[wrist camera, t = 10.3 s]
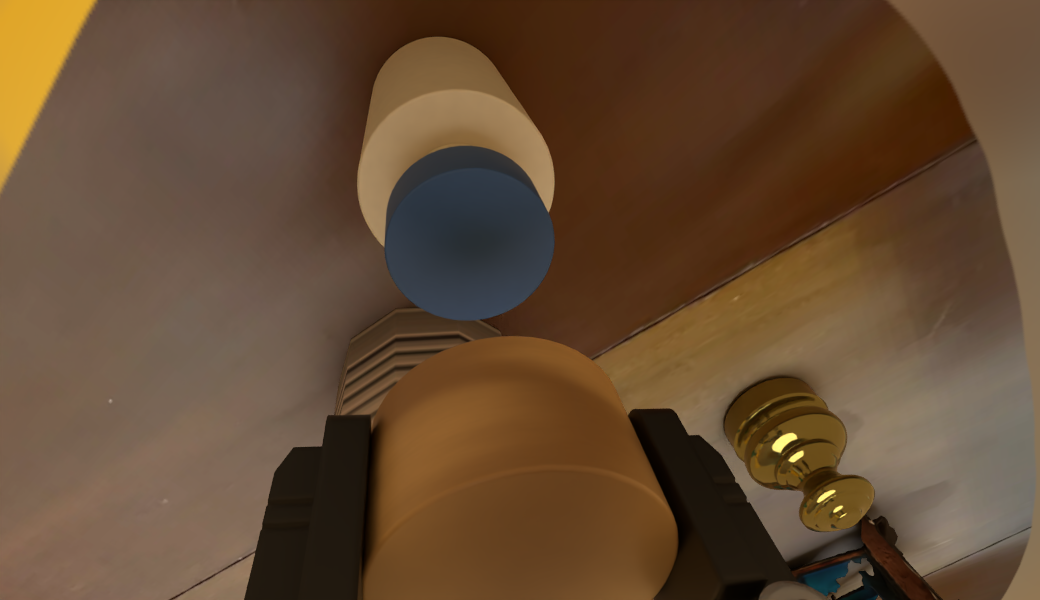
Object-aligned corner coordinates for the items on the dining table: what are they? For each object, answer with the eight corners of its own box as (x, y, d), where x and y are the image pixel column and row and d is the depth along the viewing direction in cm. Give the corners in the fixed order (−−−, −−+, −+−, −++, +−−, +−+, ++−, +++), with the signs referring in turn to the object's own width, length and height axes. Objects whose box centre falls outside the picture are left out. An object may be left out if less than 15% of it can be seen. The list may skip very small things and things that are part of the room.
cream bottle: (372, 171, 31) (349, 349, 18) (370, 29, 27) (341, 119, 14) (501, 178, 32) (568, 348, 19) (515, 43, 29) (609, 138, 16)
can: (449, 461, 43) (464, 625, 33) (303, 400, 38) (267, 572, 28) (550, 353, 39) (601, 500, 29) (402, 269, 34) (401, 412, 24)
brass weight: (720, 456, 47) (788, 569, 39) (723, 387, 43) (799, 497, 35) (807, 434, 48) (892, 541, 39) (818, 364, 44) (916, 467, 35)
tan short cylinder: (371, 526, 12) (362, 683, 10) (367, 333, 10) (355, 475, 7) (595, 513, 13) (640, 652, 11) (645, 334, 11) (720, 460, 8)
